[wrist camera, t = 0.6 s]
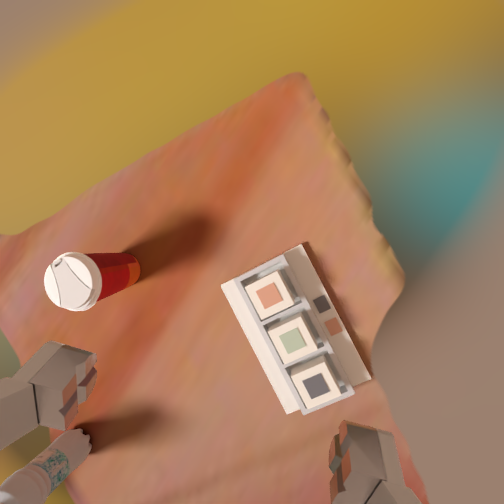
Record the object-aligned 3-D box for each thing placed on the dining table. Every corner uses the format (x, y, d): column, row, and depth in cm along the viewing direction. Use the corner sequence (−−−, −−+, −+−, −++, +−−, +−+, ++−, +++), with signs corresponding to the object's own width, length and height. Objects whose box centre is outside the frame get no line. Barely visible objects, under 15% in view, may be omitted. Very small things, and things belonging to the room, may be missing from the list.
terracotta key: (295, 300, 55) (294, 304, 52) (264, 315, 56) (261, 320, 53) (278, 268, 55) (276, 271, 52) (247, 284, 56) (244, 287, 53)
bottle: (84, 417, 66) (-13, 499, 46) (102, 448, 66) (13, 544, 46) (57, 433, 67) (-48, 519, 47) (75, 463, 67) (-23, 563, 47)
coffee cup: (95, 259, 63) (30, 269, 48) (133, 238, 62) (77, 241, 47) (117, 301, 63) (58, 324, 48) (155, 280, 62) (106, 298, 47)
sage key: (317, 343, 55) (318, 350, 52) (285, 357, 56) (284, 365, 53) (301, 311, 55) (300, 316, 52) (269, 326, 56) (267, 332, 53)
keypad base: (370, 376, 57) (374, 385, 53) (287, 411, 59) (285, 422, 56) (301, 243, 57) (300, 244, 54) (221, 284, 60) (216, 288, 56)
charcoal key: (339, 386, 55) (341, 395, 52) (307, 399, 56) (307, 410, 53) (323, 354, 55) (324, 362, 52) (291, 368, 56) (290, 377, 53)
